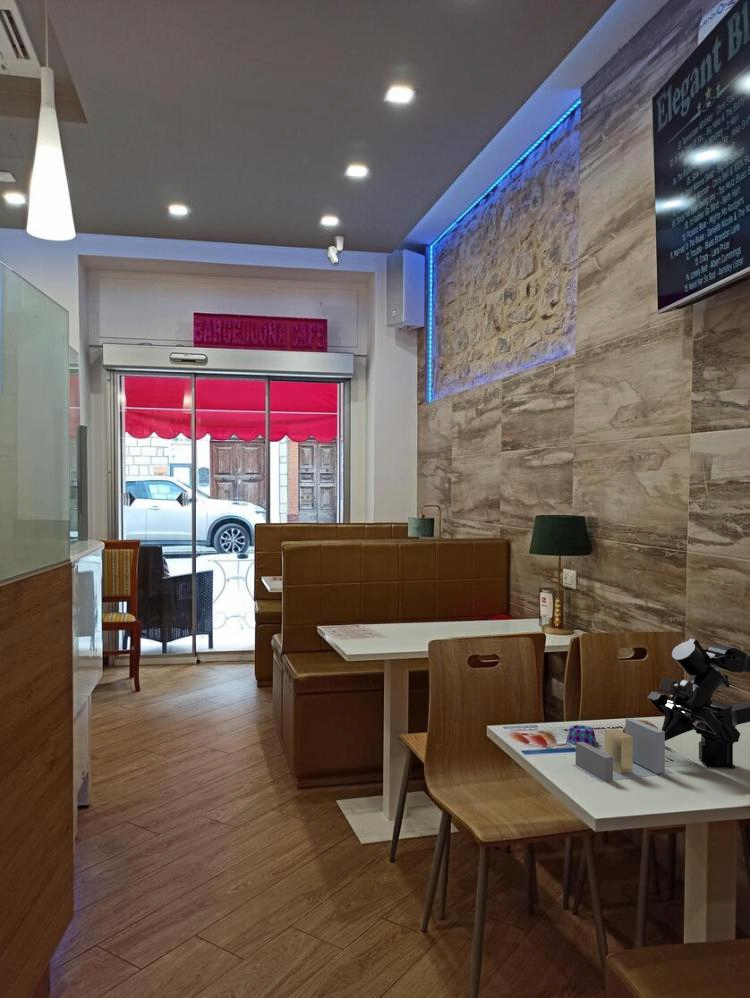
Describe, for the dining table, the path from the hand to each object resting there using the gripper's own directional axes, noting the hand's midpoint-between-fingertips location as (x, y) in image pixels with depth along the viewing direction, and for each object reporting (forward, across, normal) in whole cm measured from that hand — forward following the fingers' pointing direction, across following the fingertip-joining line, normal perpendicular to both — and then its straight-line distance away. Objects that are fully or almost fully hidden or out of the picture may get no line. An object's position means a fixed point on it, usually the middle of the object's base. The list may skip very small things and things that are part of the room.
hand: (661, 739), depth 170 cm
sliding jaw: (+7, 0, 0) cm, 7 cm away
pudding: (+11, -20, 0) cm, 23 cm away
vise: (+13, 0, -3) cm, 13 cm away
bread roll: (-1, -18, +11) cm, 21 cm away
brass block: (+12, 0, -4) cm, 13 cm away
